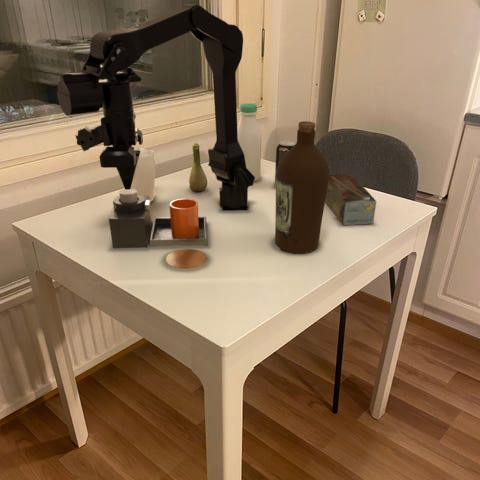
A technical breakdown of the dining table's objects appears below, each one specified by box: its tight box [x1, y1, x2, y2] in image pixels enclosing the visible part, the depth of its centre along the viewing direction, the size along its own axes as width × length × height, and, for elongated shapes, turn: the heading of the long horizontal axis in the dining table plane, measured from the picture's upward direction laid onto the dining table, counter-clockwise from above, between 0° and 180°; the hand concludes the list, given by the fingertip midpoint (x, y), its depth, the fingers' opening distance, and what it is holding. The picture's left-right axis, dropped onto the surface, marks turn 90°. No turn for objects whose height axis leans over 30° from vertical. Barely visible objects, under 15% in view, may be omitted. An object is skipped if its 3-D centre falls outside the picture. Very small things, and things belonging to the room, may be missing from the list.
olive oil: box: [274, 120, 330, 255], centre depth 98 cm, size 11×11×25 cm
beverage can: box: [274, 139, 297, 186], centre depth 132 cm, size 6×6×12 cm
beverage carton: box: [325, 173, 377, 226], centre depth 120 cm, size 8×19×7 cm, turn 7°
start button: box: [118, 188, 138, 203], centre depth 102 cm, size 4×4×2 cm
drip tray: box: [149, 216, 208, 248], centre depth 107 cm, size 12×12×2 cm
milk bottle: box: [237, 102, 262, 182], centre depth 135 cm, size 8×8×20 cm
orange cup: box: [169, 198, 199, 239], centre depth 106 cm, size 6×6×7 cm
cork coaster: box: [165, 248, 209, 270], centre depth 98 cm, size 8×8×1 cm
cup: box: [131, 147, 156, 203], centre depth 122 cm, size 9×9×12 cm
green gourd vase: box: [188, 142, 208, 192], centre depth 129 cm, size 6×5×12 cm
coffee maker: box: [108, 195, 152, 249], centre depth 105 cm, size 7×13×8 cm, turn 4°
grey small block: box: [145, 200, 151, 212], centre depth 104 cm, size 1×3×2 cm, turn 4°
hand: (127, 188), depth 101 cm, fingers closed
